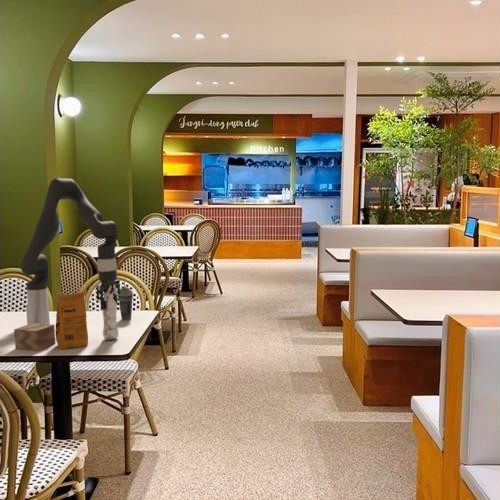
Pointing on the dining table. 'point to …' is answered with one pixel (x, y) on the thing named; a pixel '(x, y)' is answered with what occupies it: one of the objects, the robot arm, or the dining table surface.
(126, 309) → the beverage cup
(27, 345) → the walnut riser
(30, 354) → the dining table surface
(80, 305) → the coffee package
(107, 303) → the plastic bottle
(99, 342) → the dining table surface
